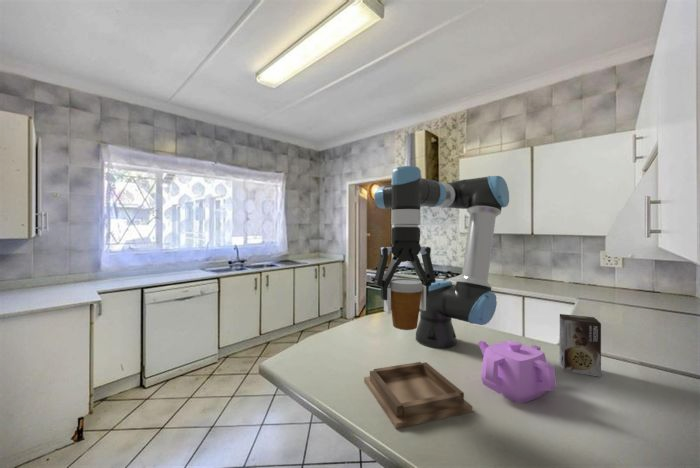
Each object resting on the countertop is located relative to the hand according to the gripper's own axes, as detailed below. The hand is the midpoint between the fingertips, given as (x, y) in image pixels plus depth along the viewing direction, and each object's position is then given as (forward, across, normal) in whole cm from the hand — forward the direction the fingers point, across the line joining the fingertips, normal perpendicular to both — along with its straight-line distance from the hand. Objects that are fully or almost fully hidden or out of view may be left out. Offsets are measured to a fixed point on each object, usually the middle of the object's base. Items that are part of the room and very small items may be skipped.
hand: (404, 310), depth 76 cm
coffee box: (+22, -58, +4) cm, 62 cm away
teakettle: (+22, -31, +5) cm, 38 cm away
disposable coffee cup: (+4, 0, 0) cm, 4 cm away
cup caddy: (+22, -2, +2) cm, 22 cm away
